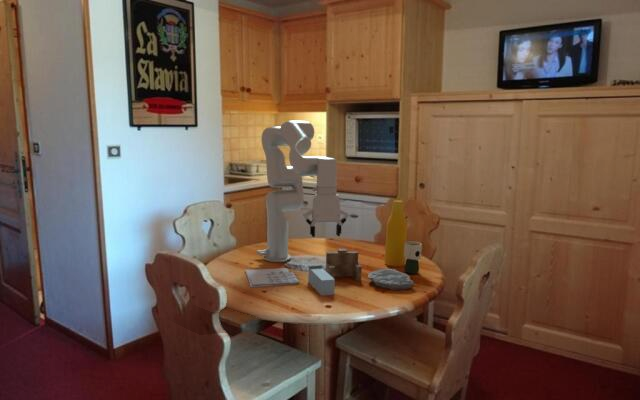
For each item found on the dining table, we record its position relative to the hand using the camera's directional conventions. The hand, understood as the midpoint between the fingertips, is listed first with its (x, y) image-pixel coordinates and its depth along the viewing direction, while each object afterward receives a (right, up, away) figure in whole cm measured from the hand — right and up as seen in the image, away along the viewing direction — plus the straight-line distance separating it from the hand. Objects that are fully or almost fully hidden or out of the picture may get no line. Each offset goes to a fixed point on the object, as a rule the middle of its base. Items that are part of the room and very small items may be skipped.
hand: (325, 235), depth 179 cm
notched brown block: (+7, -18, +14) cm, 24 cm away
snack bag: (-22, -19, +12) cm, 31 cm away
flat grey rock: (+25, -20, +9) cm, 34 cm away
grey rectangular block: (-2, -20, +2) cm, 20 cm away
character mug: (+37, -18, +23) cm, 47 cm away
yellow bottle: (+32, -16, +35) cm, 50 cm away
